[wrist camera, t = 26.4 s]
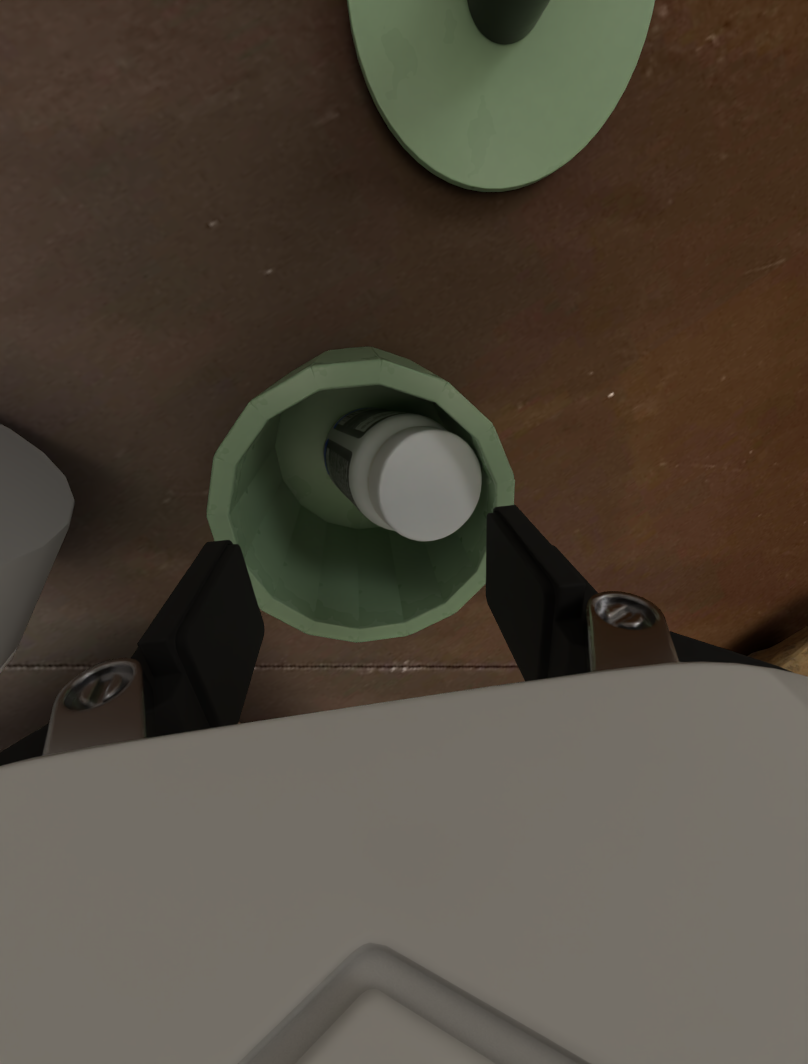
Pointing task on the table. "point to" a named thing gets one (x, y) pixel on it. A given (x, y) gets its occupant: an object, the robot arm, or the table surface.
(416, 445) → the pill bottle
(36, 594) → the alarm clock
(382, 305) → the table surface
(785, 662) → the oil lamp
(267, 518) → the cup
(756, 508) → the table surface
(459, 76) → the tin lid
